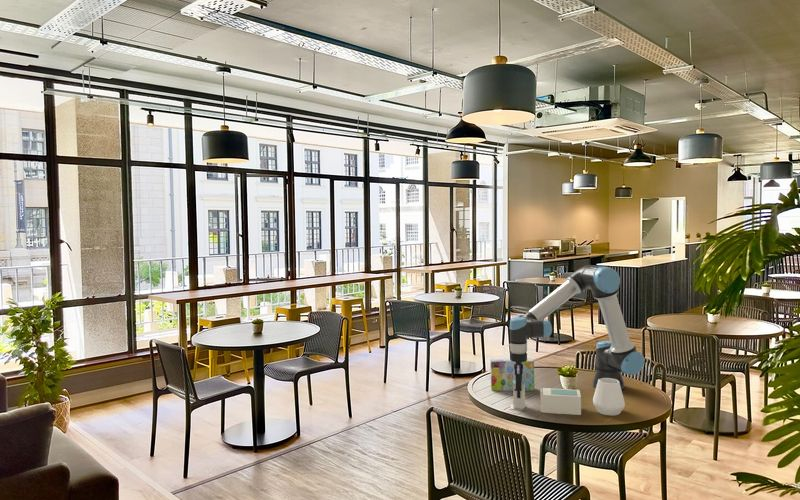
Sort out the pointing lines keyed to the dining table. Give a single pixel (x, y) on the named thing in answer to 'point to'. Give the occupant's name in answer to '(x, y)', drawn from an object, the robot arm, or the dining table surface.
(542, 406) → the white tissue box
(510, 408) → the pad
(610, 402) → the white vase
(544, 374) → the dining table surface
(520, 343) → the robot arm
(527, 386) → the snack box
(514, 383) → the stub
